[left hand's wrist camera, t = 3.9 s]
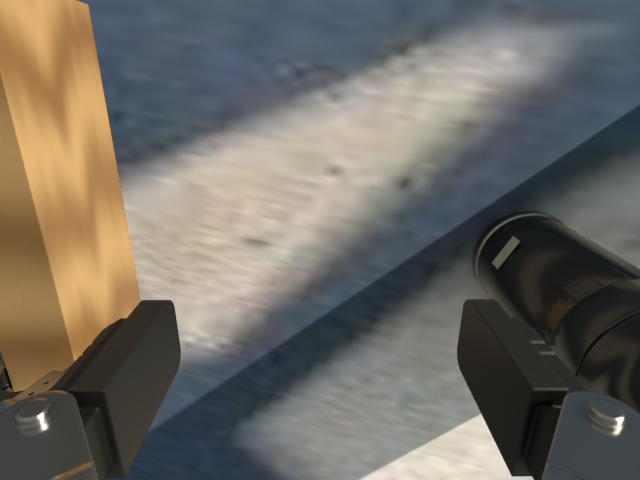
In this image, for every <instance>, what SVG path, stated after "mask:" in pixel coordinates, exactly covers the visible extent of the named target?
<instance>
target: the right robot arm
mask: <svg viewBox="0 0 640 480" xmlns="http://www.w3.org/2000/svg"><path fill="white" fill-rule="evenodd" d="M110 325H111V324H110ZM71 366H72V365H71ZM71 366H69V367H68V368H67V369H65V370H64V371H62V372H61V371H57V370H53V371H51V372H49V373H48V374H46V375H45V376H44V377H42V378H41V379H39V380H38V381H36V382H35V383H34V384H32V385H31V386H29V387H28V388H27V389H25V390H23V391H16V392H14V390H13V387H12V384H11V381H10V378H9V375H8V372H7V369H6V366H5V363H4V360H3V357H2V354H1V352H0V414H1V413H3V412H4V411H5V410H6V409H7V408H9V407H10V406H12V405H13V404H15V403H17V402H18V401H20V400H22V399H24V398H27V397H29V396H31V395H34V394H38V393H41V392H46V391H50V389H51V388H52V387H53V386H54V385H55V384H56V383H57V381H58V380H59V379H60V378H61V377H62V376H63V375H64V374H65V372H66V371H67V370H68V369H69V368H70V367H71Z"/></svg>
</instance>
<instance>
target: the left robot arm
mask: <svg viewBox="0 0 640 480" xmlns="http://www.w3.org/2000/svg"><path fill="white" fill-rule="evenodd" d="M473 268H474V273H475V276H476V278H477V280H478V282H479V283H480V285H481V286H482V287H483V289H484V290H485V291H486V292H487V293H488V294H489V295H490V296H491V297H492V298H493V299H494V300H466V301H465V303H464V306H463V312H462V319H461V326H460V333H459V340H458V347H457V357H458V364H459V368H460V370H461V373H462V375H463V377H464V379H465V381H466V383H467V385H468V387H469V389H470V391H471V393H472V395H473V397H474V399H475V401H476V403H477V405H478V408H479V410H480V412H481V414H482V416H483V418H484V420H485V422H486V424H487V426H488V428H489V430H490V432H491V434H492V436H493V438H494V440H495V442H496V444H497V446H498V449H499V451H500V453H501V455H502V457H503V459H504V461H505V463H506V465H507V467H508V469H509V471H510V473H511V475H512V476H532V477H533V479H534V480H640V269H639V268H637V267H635V266H634V265H632V264H630V263H629V262H627V261H625V260H623V259H622V258H620V257H618V256H617V255H615V254H613V253H611V252H610V251H608V250H606V249H605V248H603V247H601V246H599V245H598V244H596V243H594V242H593V241H591V240H589V239H587V238H586V237H584V236H582V235H581V234H579V233H577V232H576V231H574V230H572V229H570V228H569V227H567V226H565V225H564V224H563V223H562V222H560V221H559V220H557V219H555V218H554V217H552V216H550V215H548V214H545V213H541V212H535V211H526V212H519V213H515V214H512V215H509V216H507V217H505V218H503V219H501V220H499V221H498V222H496V223H495V224H494V225H492V226H491V227H490V228H489V229H488V230H487V231H486V232H485V233H484V235H483V236H482V237H481V239H480V241H479V242H478V244H477V247H476V249H475V253H474V258H473ZM180 356H181V349H180V342H179V335H178V328H177V321H176V314H175V308H174V304H173V302H172V301H171V300H142V301H141V302H140V303H139V304H138V305H137V306H136V307H135V309H134V310H133V311H132V312H131V313H130V315H129V316H128V317H127V318H121V319H119V320H117V321H116V322H114V323H113V324H111V325H109V326H108V327H106V328H105V329H103V330H102V331H101V333H100V334H99V335H98V336H97V337H96V338H95V339H94V340H93V342H92V345H89V346H88V347H87V348H86V350H85V351H84V352H83V355H82V356H79V358H78V359H77V360H76V361H75V362H74V363H73V364H72V366H71V367H70V368H69V369H68V370H67V371H66V372H65V374H64V375H63V376H62V377H61V378H60V379H59V380H58V381H57V383H56V384H55V385H54V386H53V387H52V388H51V389H50V391H46V392H41V393H38V394H34V395H31V396H29V397H27V398H24V399H22V400H20V401H18V402H17V403H15V404H13V405H12V406H10V407H9V408H7V409H6V410H5V411H4V412H3V413H1V414H0V480H103V479H104V478H125V476H126V474H127V472H128V470H129V468H130V466H131V464H132V462H133V460H134V458H135V456H136V454H137V452H138V450H139V448H140V446H141V444H142V442H143V440H144V438H145V436H146V434H147V432H148V430H149V428H150V426H151V424H152V422H153V420H154V418H155V416H156V414H157V412H158V410H159V408H160V406H161V404H162V402H163V400H164V398H165V395H166V393H167V391H168V389H169V387H170V385H171V383H172V381H173V379H174V377H175V375H176V373H177V371H178V368H179V364H180Z"/></svg>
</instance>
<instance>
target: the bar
mask: <svg viewBox="0 0 640 480" xmlns="http://www.w3.org/2000/svg"><path fill="white" fill-rule="evenodd" d="M140 302H141V300H140V295H139V289H138V283H137V278H136V272H135V267H134V261H133V255H132V250H131V244H130V238H129V233H128V227H127V221H126V216H125V210H124V205H123V199H122V193H121V188H120V182H119V176H118V171H117V165H116V160H115V154H114V148H113V143H112V137H111V131H110V126H109V120H108V115H107V109H106V103H105V98H104V92H103V86H102V81H101V75H100V69H99V64H98V58H97V53H96V47H95V41H94V36H93V30H92V24H91V19H90V13H89V8H88V5H87V4H85V3H82V2H79V1H76V0H0V351H1V354H2V357H3V360H4V363H5V366H6V369H7V372H8V375H9V378H10V381H11V384H12V387H13V390H14V392H16V391H23V390H25V389H27V388H28V387H29V386H31V385H32V384H34V383H35V382H36V381H38V380H39V379H41V378H42V377H44V376H45V375H46V374H48V373H49V372H51V371H53V370H57V371H61V372H62V371H64V370H65V369H67V368H68V367H69V366H71V365H72V364H73V363H74V362H75V361H76V360H77V359H78V358H79V356H82V355H83V352H84V351H85V350H86V348H87V347H88V346H89V345H92V342H93V340H94V339H95V338H96V337H97V336H98V335H99V334H100V333H101V331H102V330H103V329H105V328H106V327H108V326H109V325H110V324H113V323H114V322H116V321H117V320H119V319H121V318H127V317H128V316H129V315H130V313H131V312H132V311H133V310H134V309H135V307H136V306H137V305H138V304H139V303H140Z"/></svg>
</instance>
